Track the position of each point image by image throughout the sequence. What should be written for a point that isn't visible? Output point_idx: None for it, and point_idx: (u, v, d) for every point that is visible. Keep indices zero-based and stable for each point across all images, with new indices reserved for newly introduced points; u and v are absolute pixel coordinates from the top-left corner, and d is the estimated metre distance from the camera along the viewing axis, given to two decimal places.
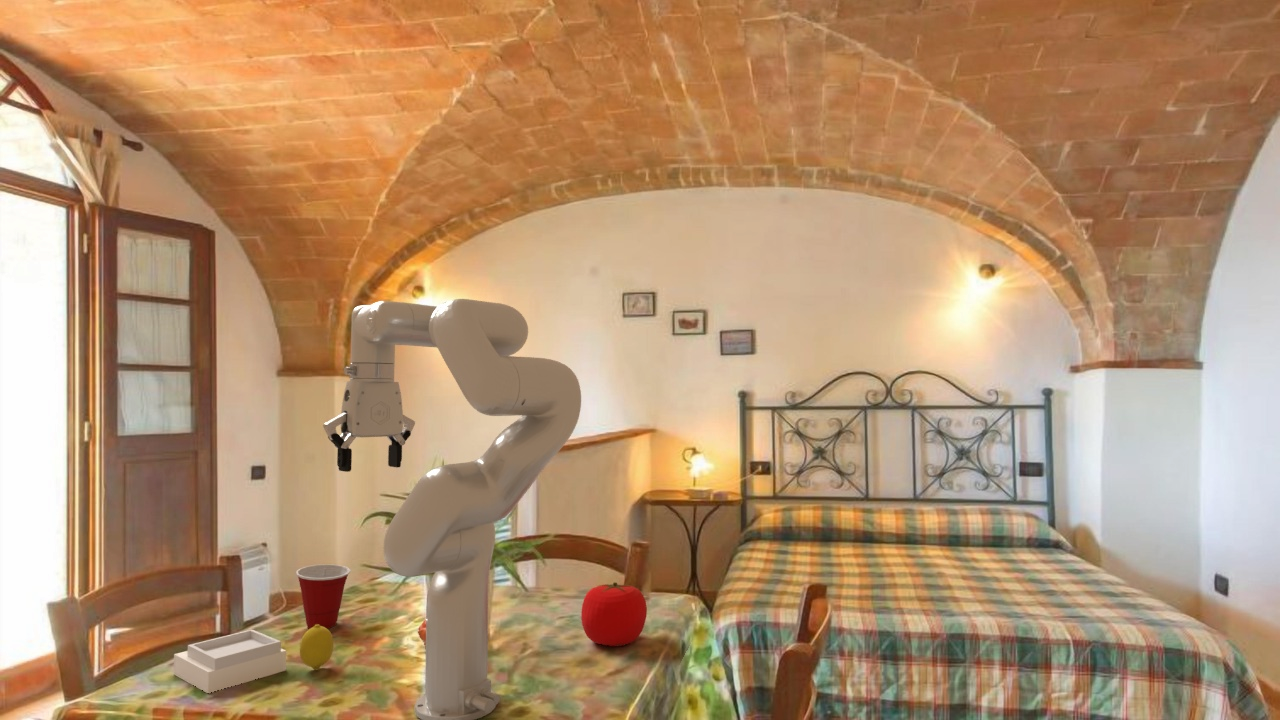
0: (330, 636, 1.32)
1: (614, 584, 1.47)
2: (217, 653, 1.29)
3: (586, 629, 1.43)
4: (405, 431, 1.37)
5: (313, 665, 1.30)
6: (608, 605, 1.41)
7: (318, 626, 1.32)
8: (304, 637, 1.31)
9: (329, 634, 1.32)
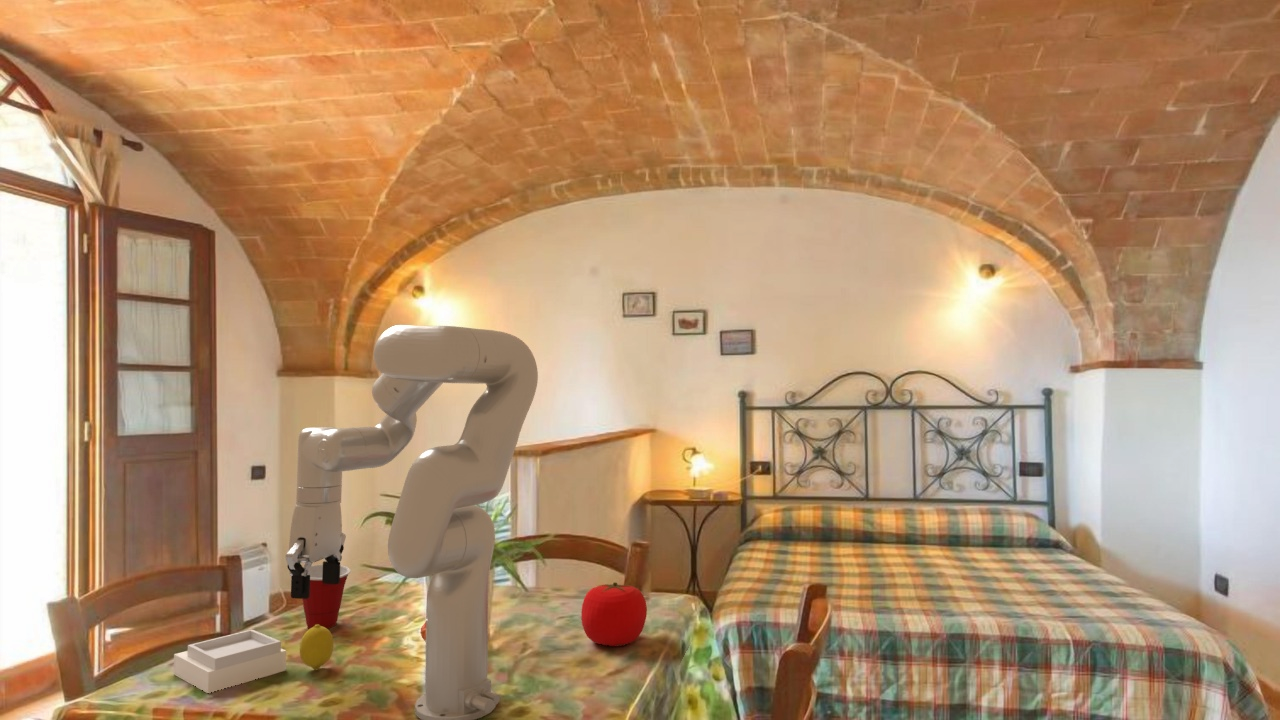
0: (330, 636, 1.32)
1: (614, 584, 1.47)
2: (217, 653, 1.29)
3: (586, 629, 1.43)
4: None
5: (313, 665, 1.30)
6: (609, 605, 1.41)
7: (318, 626, 1.32)
8: (304, 637, 1.31)
9: (329, 634, 1.32)
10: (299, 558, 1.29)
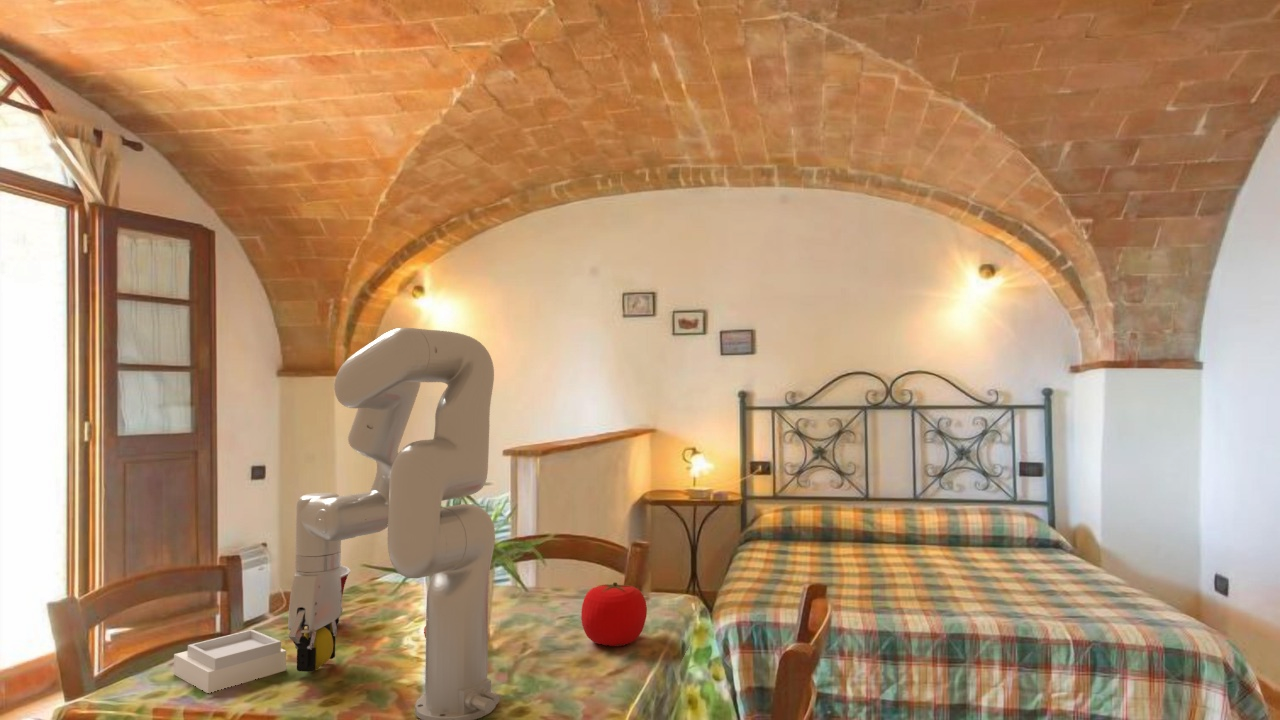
0: (330, 636, 1.32)
1: (614, 584, 1.47)
2: (217, 653, 1.29)
3: (586, 629, 1.43)
4: None
5: None
6: (608, 605, 1.41)
7: None
8: None
9: (329, 634, 1.32)
10: (302, 631, 1.29)
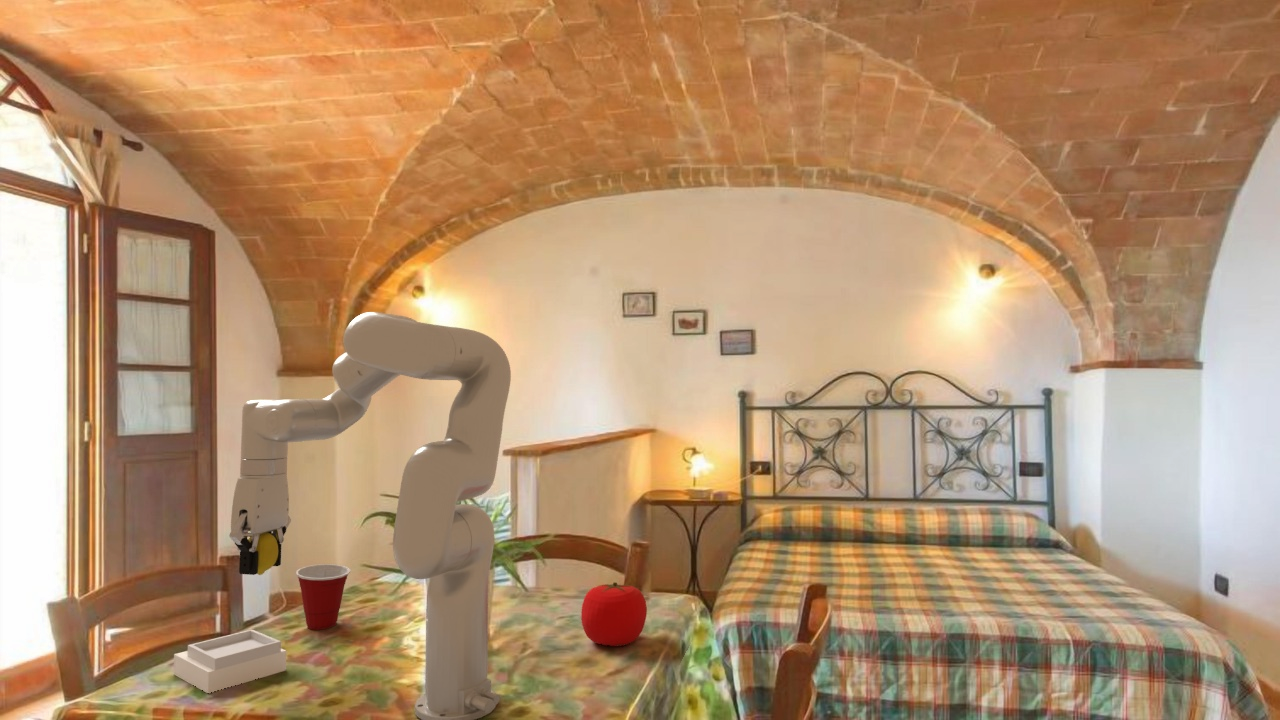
0: (275, 542, 1.32)
1: (614, 584, 1.47)
2: (217, 653, 1.29)
3: (586, 629, 1.43)
4: None
5: None
6: (608, 605, 1.41)
7: None
8: None
9: (274, 540, 1.32)
10: (244, 534, 1.28)
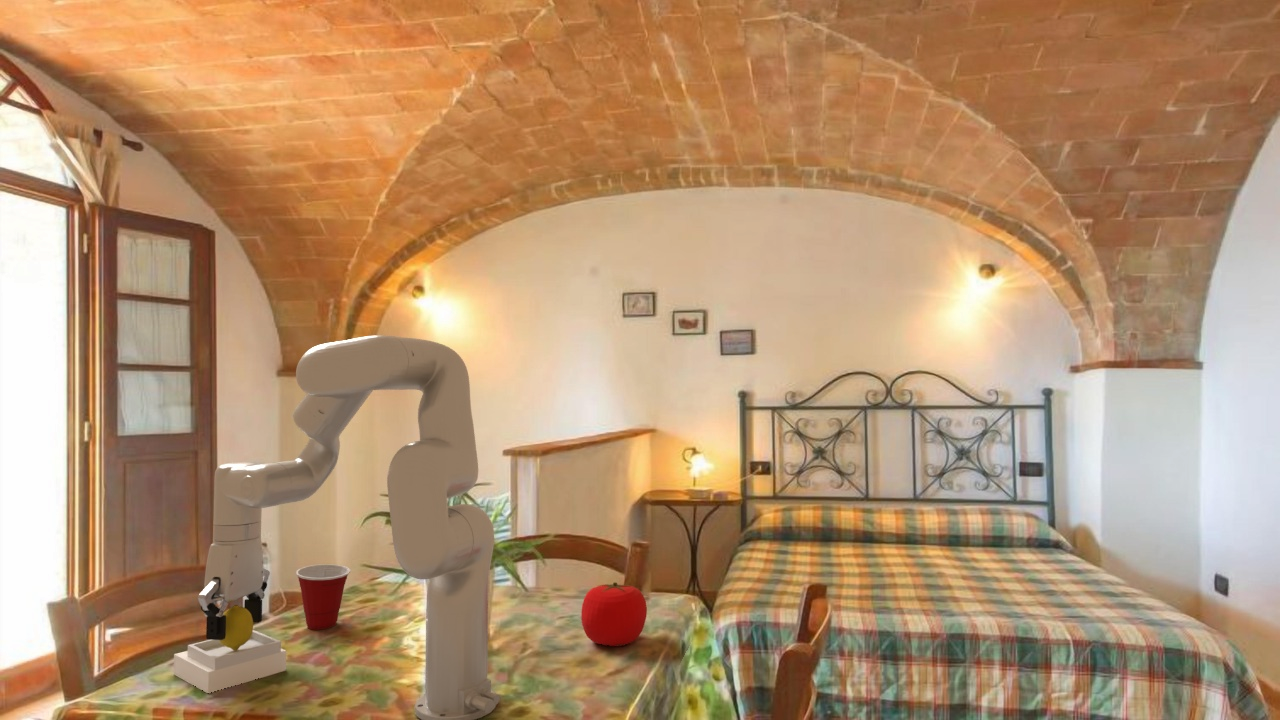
0: (249, 616, 1.30)
1: (614, 584, 1.47)
2: (217, 653, 1.29)
3: (586, 629, 1.43)
4: None
5: (231, 646, 1.28)
6: (608, 605, 1.41)
7: (236, 607, 1.30)
8: None
9: (248, 614, 1.30)
10: (215, 598, 1.26)
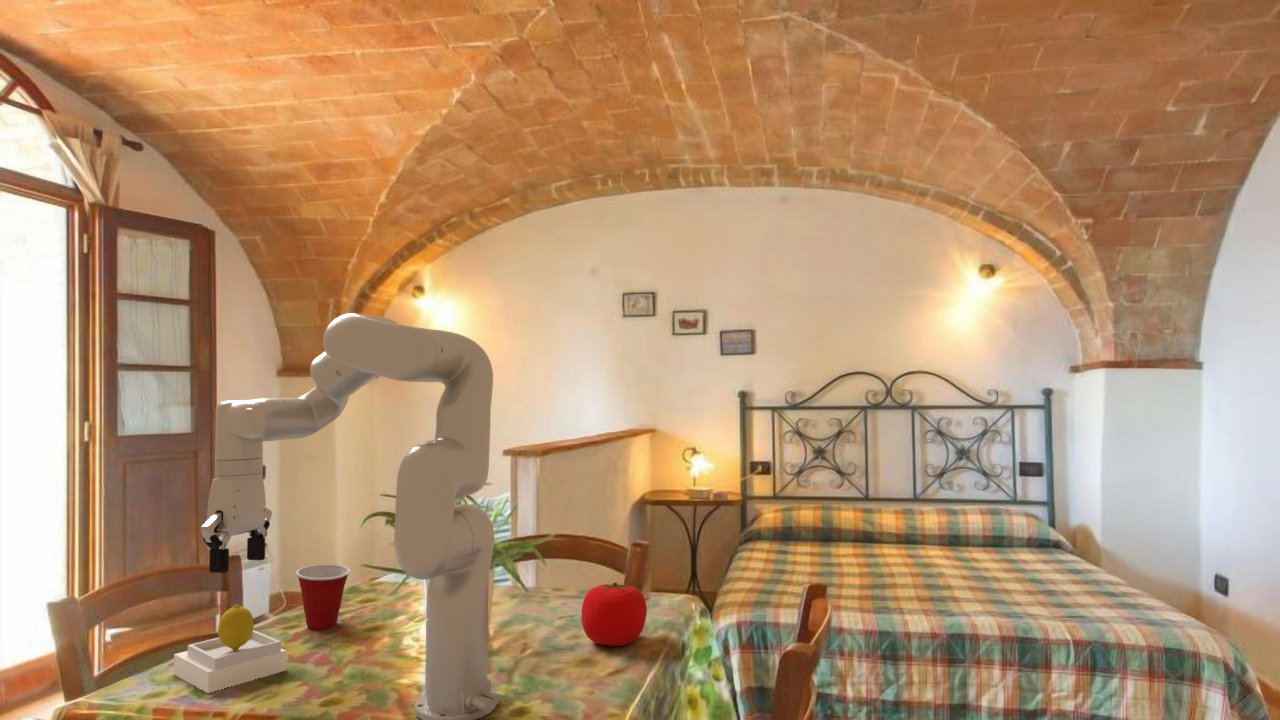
0: (250, 616, 1.30)
1: (614, 584, 1.47)
2: (217, 653, 1.29)
3: (586, 629, 1.43)
4: None
5: (231, 646, 1.28)
6: (608, 605, 1.41)
7: (237, 606, 1.30)
8: (222, 617, 1.29)
9: (249, 614, 1.30)
10: (217, 532, 1.27)
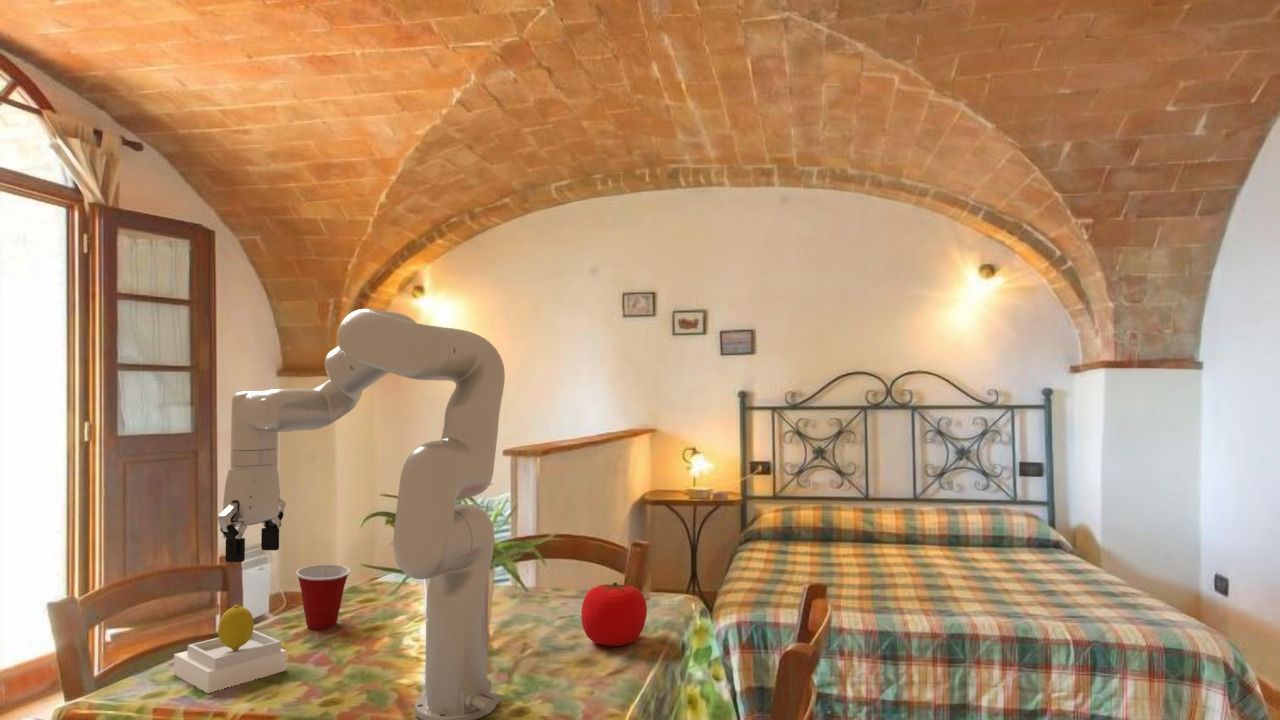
0: (250, 616, 1.30)
1: (614, 584, 1.47)
2: (217, 653, 1.29)
3: (586, 629, 1.43)
4: None
5: (231, 646, 1.28)
6: (608, 605, 1.41)
7: (237, 606, 1.30)
8: (222, 617, 1.29)
9: (249, 614, 1.30)
10: (233, 521, 1.27)
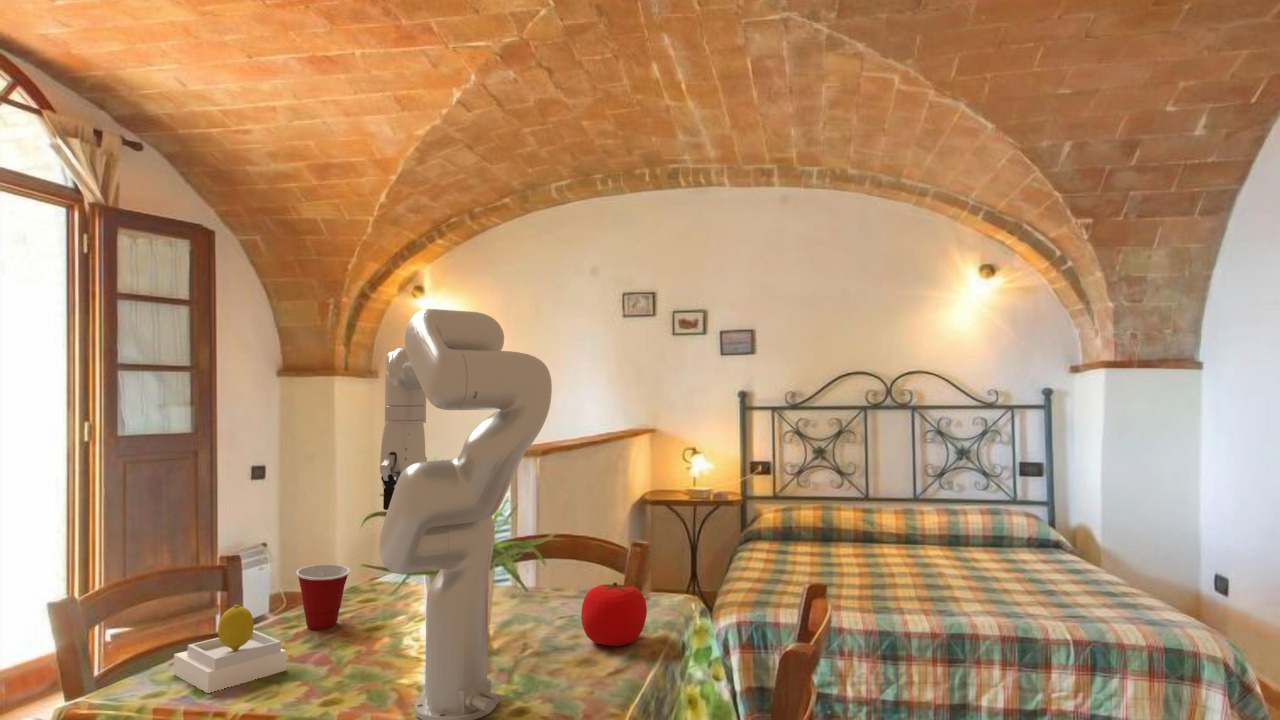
0: (250, 616, 1.30)
1: (614, 584, 1.47)
2: (217, 653, 1.29)
3: (586, 629, 1.43)
4: None
5: (231, 646, 1.28)
6: (608, 605, 1.41)
7: (237, 606, 1.30)
8: (222, 617, 1.29)
9: (249, 614, 1.30)
10: (390, 472, 1.35)
